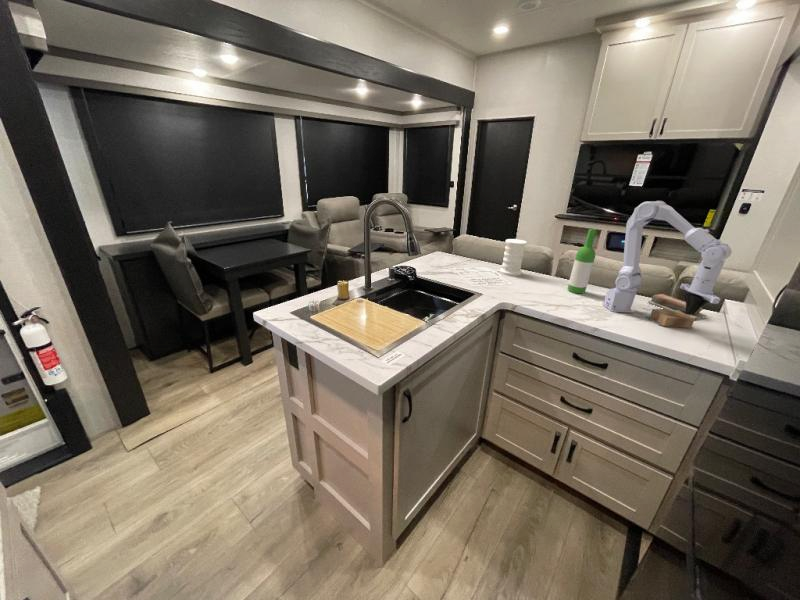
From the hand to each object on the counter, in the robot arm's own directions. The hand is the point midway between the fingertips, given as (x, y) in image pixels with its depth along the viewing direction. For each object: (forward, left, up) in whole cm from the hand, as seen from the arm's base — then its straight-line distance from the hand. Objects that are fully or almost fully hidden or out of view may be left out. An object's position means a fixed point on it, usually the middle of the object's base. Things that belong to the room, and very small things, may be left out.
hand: (689, 313), depth 114 cm
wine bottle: (-22, +37, -7) cm, 44 cm away
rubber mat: (0, +7, -7) cm, 10 cm away
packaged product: (+12, +20, -8) cm, 25 cm away
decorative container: (-47, +62, -7) cm, 78 cm away
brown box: (0, +2, -5) cm, 6 cm away
